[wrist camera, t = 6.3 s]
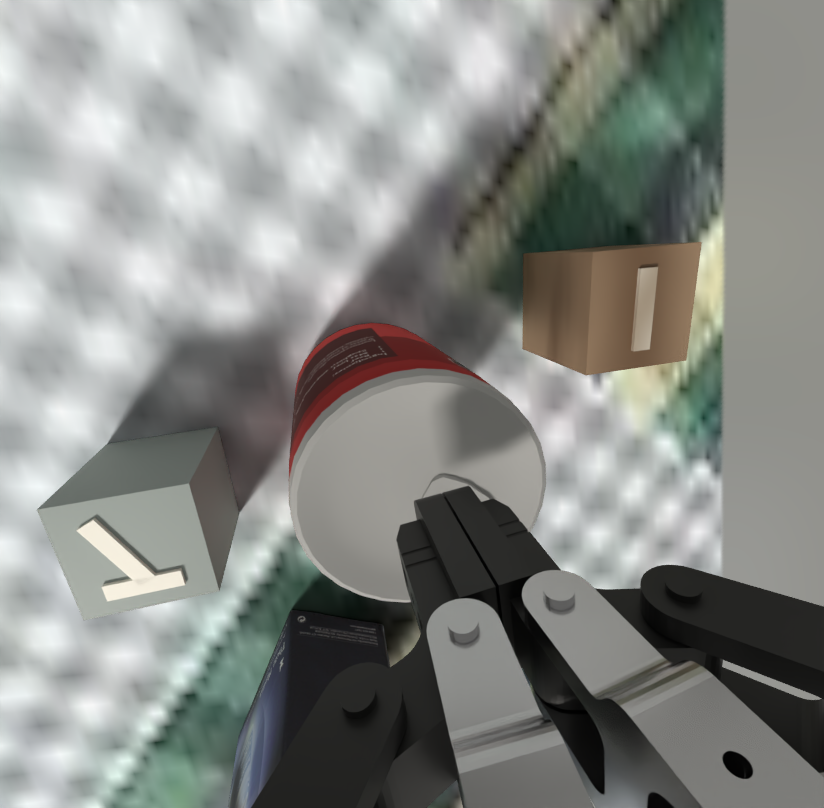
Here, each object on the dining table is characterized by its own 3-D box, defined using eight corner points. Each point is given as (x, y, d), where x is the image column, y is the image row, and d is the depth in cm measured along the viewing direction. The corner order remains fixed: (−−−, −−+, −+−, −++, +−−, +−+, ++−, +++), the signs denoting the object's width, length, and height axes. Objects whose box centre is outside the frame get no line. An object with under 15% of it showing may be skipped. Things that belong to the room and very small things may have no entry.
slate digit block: (218, 426, 22) (187, 485, 16) (239, 512, 24) (218, 593, 18) (107, 443, 21) (34, 512, 15) (138, 531, 23) (81, 623, 17)
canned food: (436, 460, 25) (525, 596, 15) (292, 460, 23) (283, 616, 13) (454, 326, 23) (573, 380, 13) (297, 313, 21) (290, 365, 11)
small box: (284, 604, 26) (272, 810, 16) (385, 620, 28) (429, 811, 18) (232, 737, 28) (193, 989, 18) (329, 743, 30) (341, 972, 21)
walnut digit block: (608, 246, 24) (704, 241, 18) (602, 337, 25) (688, 361, 20) (522, 253, 23) (595, 252, 17) (522, 348, 24) (588, 376, 19)
